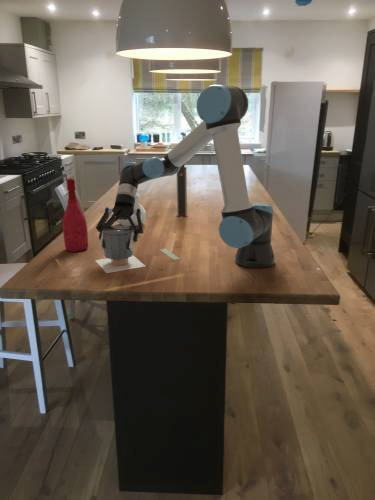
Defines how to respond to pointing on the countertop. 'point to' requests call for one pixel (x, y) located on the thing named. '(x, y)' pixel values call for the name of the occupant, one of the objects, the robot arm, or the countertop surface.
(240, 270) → the countertop surface
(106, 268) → the board
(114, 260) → the bowl
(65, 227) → the wine bottle
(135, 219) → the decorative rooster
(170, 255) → the mat
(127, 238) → the grey ribbed cylinder
